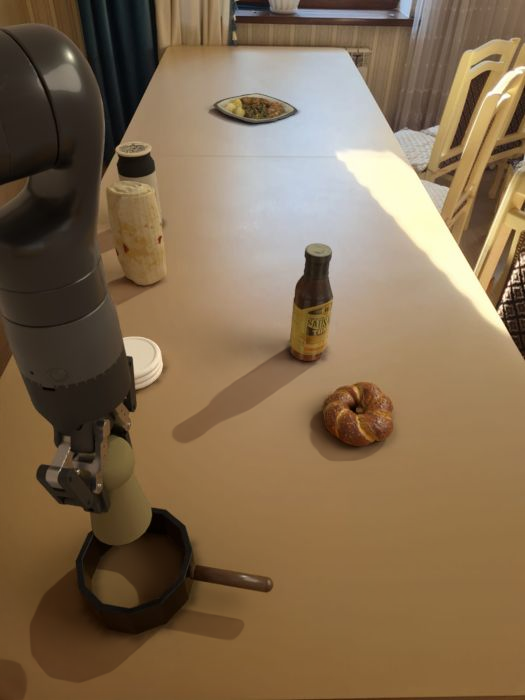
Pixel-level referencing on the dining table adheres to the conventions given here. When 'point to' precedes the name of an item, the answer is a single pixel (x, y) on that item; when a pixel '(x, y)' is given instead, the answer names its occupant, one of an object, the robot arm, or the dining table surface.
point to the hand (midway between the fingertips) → (110, 480)
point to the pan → (173, 597)
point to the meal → (255, 108)
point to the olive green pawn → (121, 497)
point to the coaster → (144, 360)
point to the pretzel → (358, 414)
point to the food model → (137, 231)
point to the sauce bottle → (312, 305)
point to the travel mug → (137, 165)
